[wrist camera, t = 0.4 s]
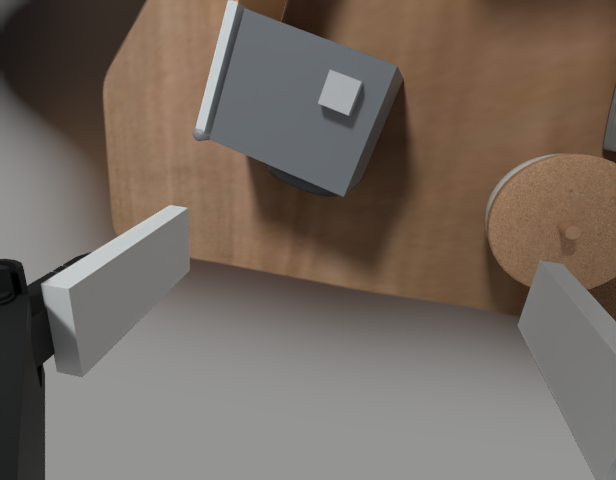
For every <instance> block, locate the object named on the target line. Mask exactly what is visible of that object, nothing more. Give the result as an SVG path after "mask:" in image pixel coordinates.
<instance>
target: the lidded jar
mask: <svg viewBox="0 0 616 480" xmlns="http://www.w3.org/2000/svg"><path fill="white" fill-rule="evenodd" d="M485 229H486V234H487V238H488V242H489V245H490V248H491V251H492V253H493V255H494V257H495V259H496V260H497V262H498V264H499V265H500V266H501V267H502V268H503V270H504V271H505V272H506V273H508V274H509V275H510V276H511V277H512V278H513V279H515V280H517V281H518V282H520V283H522V284H523V285H526V286H528V287H530V288H531V285H532V282H533V279H534V276H535V273H536V270H537V267H538V265H539V262H540V261H547V262H554V263H560V264H564V265H565V267H566V268H567V269H568V270H569V271H570V272H571V273H572V274H573V275H574V276H575V278H576V279H577V280H578V281H579V282H580V283H581V284H582V285H583V286H584V287H585V289H586V290H588V289H592V288H594V287H597V286H599V285H602V284H604V283H606V282H608V281H609V280H611V279H613V278H615V277H616V163H614V162H612V161H609V160H607V159H604V158H601V157H597V156H592V155H588V154H574V153H571V154H566V153H560V154H550V155H545V156H540V157H536V158H534V159H531V160H528V161H526V162H524V163H522V164H520V165H518V166H517V167H515V168H514V169H512V170H511V171H510V172H508V173H507V174H506V175H505V176H504V177H503V178H502V179H501V180H500V181H499V183H498V184H497V185H496V187H495V188H494V190H493V192H492V193H491V195H490V197H489V200H488V203H487V206H486V212H485Z"/></svg>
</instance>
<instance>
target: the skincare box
mask: <svg viewBox="0 0 616 480" xmlns="http://www.w3.org/2000/svg"><path fill="white" fill-rule="evenodd" d="M603 147H604V150H608V151H613V152H616V87H615V91H614V96H613V100H612V104H611V109H610V113H609V118H608V123H607V128H606V134H605V139H604V145H603Z"/></svg>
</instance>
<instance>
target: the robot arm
mask: <svg viewBox="0 0 616 480" xmlns="http://www.w3.org/2000/svg"><path fill="white" fill-rule="evenodd" d="M189 263H190V261H189V223H188V208H185V207H178V206H172V205H169V206H168V207H166V208H164V209H163V210H161V211H160V212H158V213H156V214H155V215H153V216H151V217H150V218H148V219H146V220H145V221H143V222H142V223H140V224H138V225H137V226H135V227H133V228H132V229H130V230H128V231H127V232H125V233H123V234H122V235H120V236H119V237H117V238H116V239H114V240H112V241H111V242H109V243H107V244H106V245H104V246H102V247H100V248H99V249H97V250H96V251H94V252H90V253H87V254H84V255H81V256H78V257H75V258H73V259H72V260H70V261H68V262H67V263H65V264H64V265H63V266H60V267H58V268H57V269H55V270H54V271H53V272H50V273H48V274H46V275H45V276H43V277H41V278H40V279H38V280H36V281H35V282H33V283H31V284H30V285H28V286H27V284H26V279H25V274H24V269H23V266H22V263H21V262H18V261H16V260H10V259H0V480H45V372H44V368H43V363H44V362H45V361H46V360H48V359H49V358H50V357H51V356H52V355H53V354H54V358H55V362H56V368H57V372H61V373H65V374H70V375H75V376H79V377H83V376H84V375H85V374H86V373H87V372H88V371H89V370H90V369H91V368H92V367H93V366H94V365H95V364H96V363H97V362H98V361H99V360H100V359H101V358H102V357H103V356H104V355H105V354H106V353H107V352H108V351H109V350H110V349H111V348H112V347H113V346H114V345H115V344H116V343H117V342H118V341H119V340H120V339H121V338H122V337H123V336H124V335H125V334H126V333H127V332H128V331H129V330H130V329H131V328H132V327H133V326H134V325H135V324H136V323H137V322H138V321H139V320H140V319H141V318H142V317H143V316H144V315H145V314H146V313H147V312H148V311H149V310H150V309H151V308H152V307H153V306H154V305H155V304H156V303H157V302H158V301H159V300H160V299H161V298H162V297H163V296H164V295H165V294H166V293H167V292H168V291H169V290H170V289H171V288H172V287H173V286H174V285H175V284H176V283H177V282H178V281H179V280H180V279H181V278H182V277H183V276H184V275H185V274H186V273H187V272H188V271H189V270H190V264H189ZM517 326H518V328H519V330H520V332H521V334H522V336H523V338H524V340H525V342H526V344H527V346H528V348H529V350H530V352H531V354H532V356H533V358H534V360H535V362H536V363H537V365H538V367H539V369H540V371H541V373H542V375H543V377H544V379H545V381H546V383H547V385H548V387H549V389H550V391H551V393H552V395H553V397H554V399H555V401H556V403H557V405H558V407H559V409H560V411H561V413H562V414H563V416H564V418H565V420H566V422H567V424H568V426H569V428H570V430H571V432H572V434H573V436H574V438H575V440H576V442H577V444H578V446H579V448H580V450H581V452H582V454H583V456H584V458H585V460H586V462H587V464H588V466H589V468H590V469H591V472H592V473H593V475H594V477H595V479H596V480H616V321H615V320H614V319H613V318H612V317H611V316H610V315H609V314H608V313H607V312H606V310H605V309H604V308H603V307H602V306H601V305H600V304H599V303H598V302H597V301H596V299H595V298H594V297H593V296H592V295H591V294H590V293H589V292H588V291H587V290H586V289H585V287H584V286H583V285H582V284H581V283H580V282H579V281H578V280H577V279H576V278H575V276H574V275H573V274H572V273H571V272H570V271H569V270H568V269H567V268H566V267H565V265H564V264H560V263H554V262H547V261H540V262H539V265H538V267H537V270H536V273H535V276H534V279H533V282H532V285H531V288H530V291H529V294H528V296H527V299H526V302H525V305H524V308H523V311H522V314H521V317H520V320H519V323H518V325H517Z"/></svg>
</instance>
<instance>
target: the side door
mask: <svg viewBox="0 0 616 480" xmlns="http://www.w3.org/2000/svg"><path fill="white" fill-rule="evenodd" d="M285 3H286V0H228V3H227V7H226V11H225V15H224V19H223V22H222V26H221V30H220V34H219V38H218V42H217V46H216V50H215V54H214V58H213V62H212V66H211V70H210V74H209V77H208V81H207V85H206V89H205V93H204V97H203V101H202V105H201V109H200V113H199V117H198V121H197V125H196V129H195V130H194V132H193V136H194V138H195V139H196V140H197V141H203V140H210V139H209V138H210V135H211V131H212V127H213V123H214V120H215V116H216V112H217V109H218V105H219V101H220V97H221V94H222V90H223V86H224V83H225V79H226V75H227V72H228V68H229V64H230V60H231V57H232V53H233V49H234V46H235V42H236V38H237V34H238V31H239V27H240V23H241V20H242V16H243V12H244V8H245V9H248V10H250V11H253V12H256V13H258V14H261V15H264V16H266V17H269V18H272V19H274V20H277V21H279V22H280V20H281V17H282V13H283V10H284V7H285Z"/></svg>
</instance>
